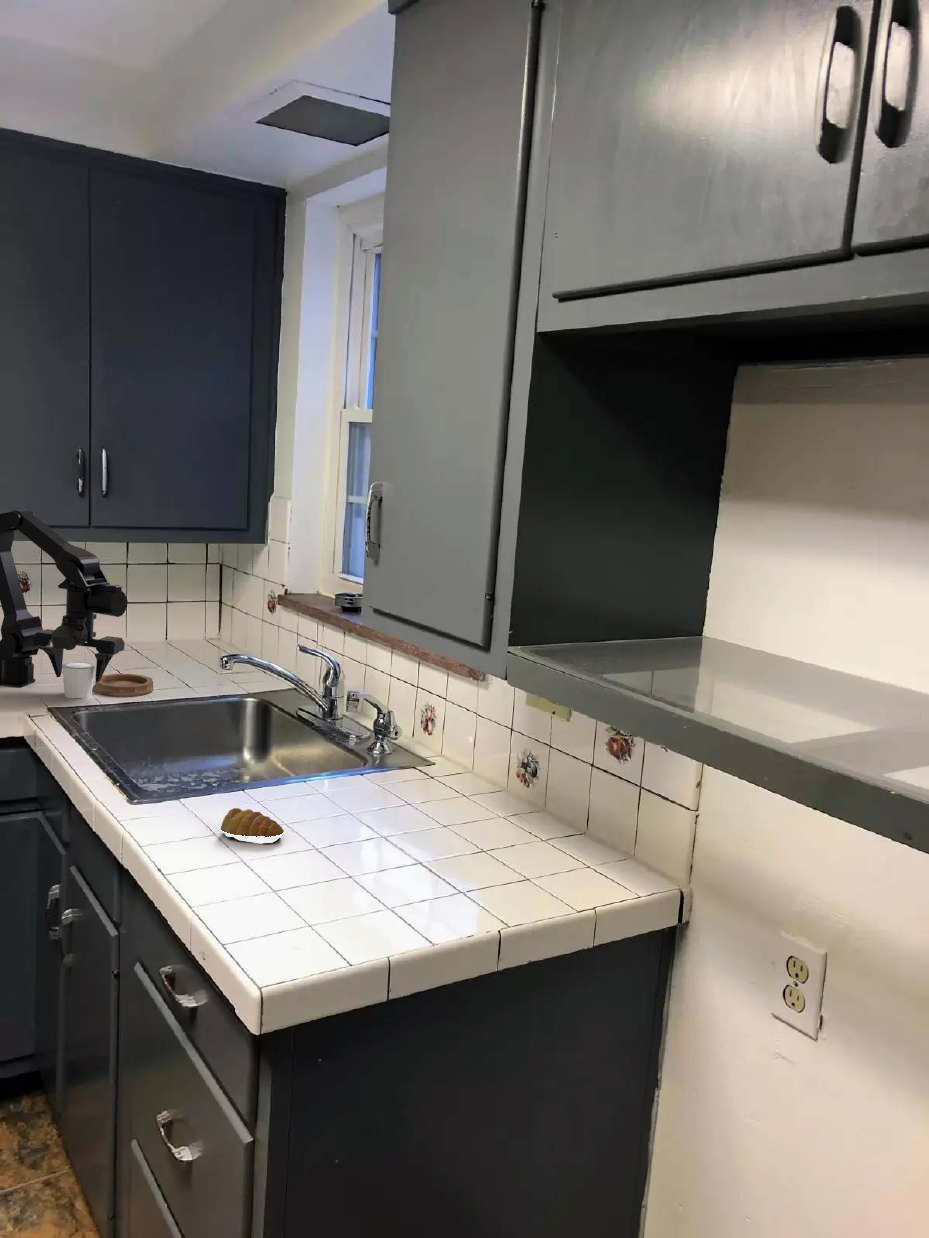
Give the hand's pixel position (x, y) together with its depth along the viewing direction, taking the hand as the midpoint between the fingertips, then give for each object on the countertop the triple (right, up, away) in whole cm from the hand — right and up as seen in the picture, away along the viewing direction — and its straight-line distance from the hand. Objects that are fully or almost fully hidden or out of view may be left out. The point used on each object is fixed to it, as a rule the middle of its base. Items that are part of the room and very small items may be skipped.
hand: (78, 679), depth 219 cm
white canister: (0, -4, +1) cm, 4 cm away
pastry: (+53, -20, -66) cm, 87 cm away
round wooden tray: (+7, -3, +9) cm, 12 cm away
